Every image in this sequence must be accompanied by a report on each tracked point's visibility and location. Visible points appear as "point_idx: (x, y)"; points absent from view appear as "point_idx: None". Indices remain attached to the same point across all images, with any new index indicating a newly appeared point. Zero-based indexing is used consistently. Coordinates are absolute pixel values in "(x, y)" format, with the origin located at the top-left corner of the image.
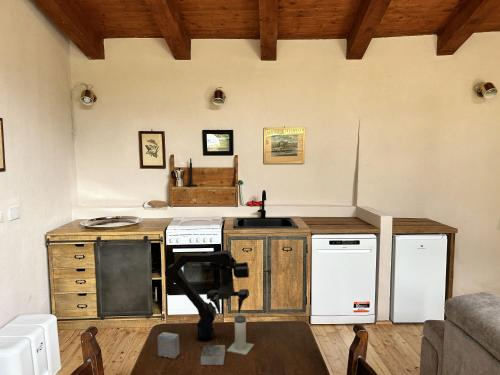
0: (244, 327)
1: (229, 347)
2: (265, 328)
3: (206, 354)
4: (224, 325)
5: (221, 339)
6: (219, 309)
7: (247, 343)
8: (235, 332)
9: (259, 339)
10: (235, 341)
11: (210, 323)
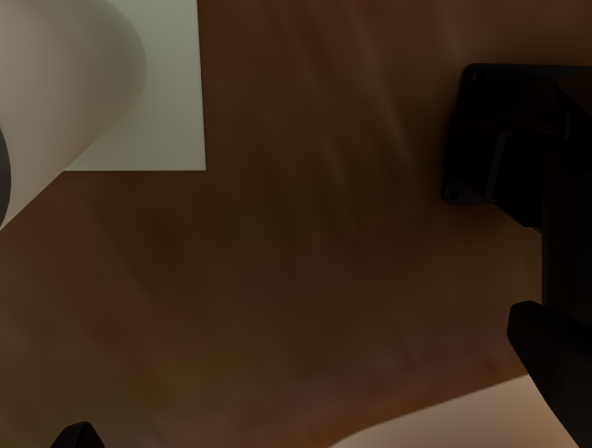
0: None
1: (194, 8)
2: None
3: None
4: (415, 374)
5: (355, 160)
6: (574, 378)
7: None
8: (36, 6)
9: (13, 283)
10: (92, 9)
11: (568, 142)
